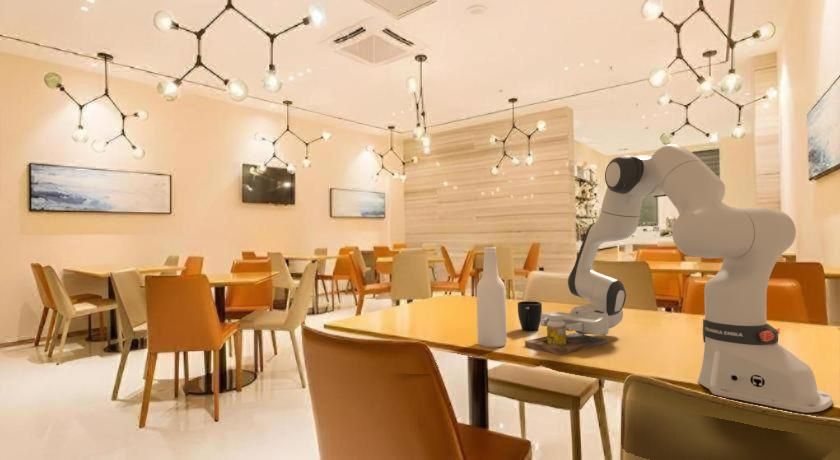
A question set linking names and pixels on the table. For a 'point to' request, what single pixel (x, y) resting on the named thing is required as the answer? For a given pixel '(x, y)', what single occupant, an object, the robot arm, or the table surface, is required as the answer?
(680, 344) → the table surface
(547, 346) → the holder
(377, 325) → the table surface
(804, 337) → the table surface
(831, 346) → the table surface
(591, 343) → the mat
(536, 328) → the mug
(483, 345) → the alcohol
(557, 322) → the supplement bottle
